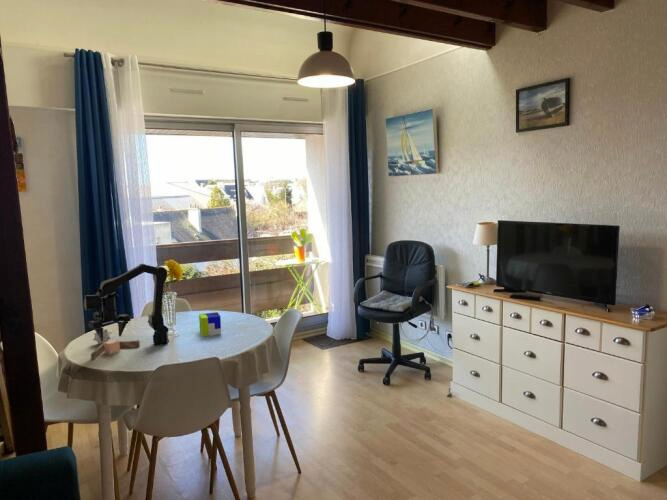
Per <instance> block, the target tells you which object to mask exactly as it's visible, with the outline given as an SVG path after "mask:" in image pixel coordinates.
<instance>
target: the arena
mask: <svg viewBox="0 0 667 500" xmlns="http://www.w3.org/2000/svg"><path fill="white" fill-rule="evenodd" d="M118 341H119V340H118ZM119 343H120V349H125V348H140V346H141V345H140V344H141V343H140V340H122V341H121V340H120V341H119ZM122 352H123V351H122V350H120V352H117V353H113V354H108V353H105V349H104V343H102V344H101V343H100V345H99V346H98V347H97V348H96V349H95V350H93V351H92V352H91V353H90V360H91V361H95V360H96V359H97V358H98V357H99V356H100V355H102V353H103V354H105V355H108V356H111V355H115V354H119V353H122Z"/></svg>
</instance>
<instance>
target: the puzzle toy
mask: <svg viewBox="0 0 667 500" xmlns="http://www.w3.org/2000/svg"><path fill="white" fill-rule="evenodd" d="M221 318H222V317H221V315H220V314H219V312H218V311H217V312H215V311H214V312H207V313H199V314H198V319H199V320H198V321H199V332H201V333H200V335H201V334H202V335H201V336H202V337H208V336H207V335H210V336H216V335H215V334H219V335H222V323H221V322H222V321H221Z"/></svg>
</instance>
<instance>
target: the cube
mask: <svg viewBox="0 0 667 500" xmlns="http://www.w3.org/2000/svg"><path fill="white" fill-rule="evenodd" d="M104 349H105V350H104V352H105V353H108V354H112V355H114V354H113V353H115V354H118V353H117V352H119V353H121V352H120V351H121V348H120V343H119V340H115V339H112V340H111V339H110V340H108V342H104ZM105 353H104V354H105ZM108 354H107V355H108Z"/></svg>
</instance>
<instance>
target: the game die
mask: <svg viewBox="0 0 667 500" xmlns="http://www.w3.org/2000/svg"><path fill="white" fill-rule="evenodd" d="M112 333H113V332H110V331H109V330H108V329H104V328H103V341H101V340H100V338H99V336H98V334H97V332H96V331H95V333H93V335H94V338H93V339H92V341H95V342H97V344H100V345H101V344H102V343H104V342H108V341H110V340H111V334H112Z"/></svg>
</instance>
